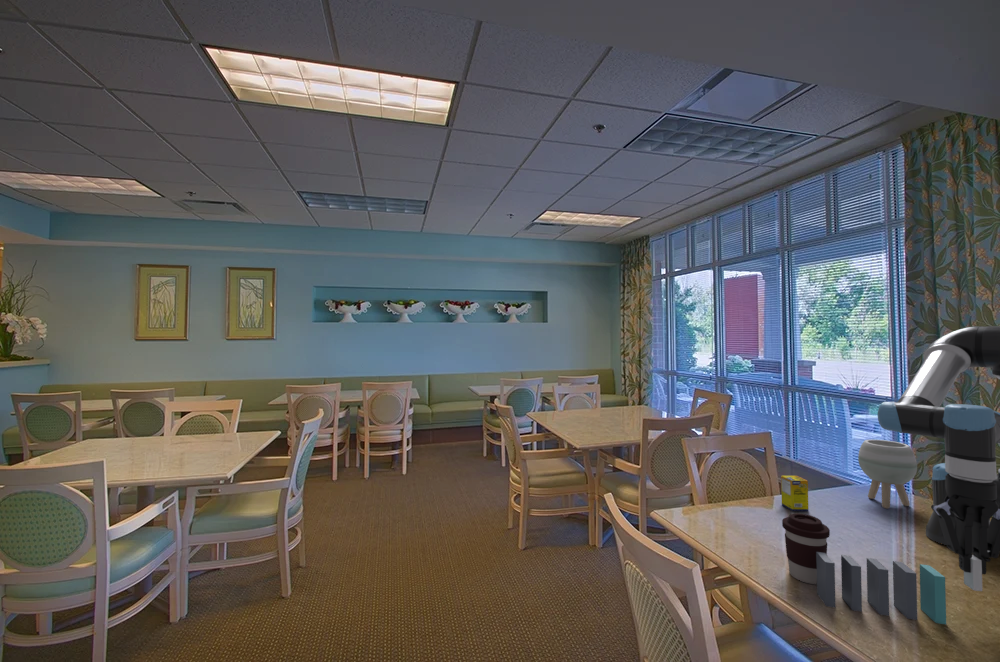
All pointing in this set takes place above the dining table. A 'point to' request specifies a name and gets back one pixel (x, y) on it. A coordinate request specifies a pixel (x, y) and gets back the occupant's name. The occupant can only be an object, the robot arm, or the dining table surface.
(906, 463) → the planter
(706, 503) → the dining table surface
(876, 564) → the domino
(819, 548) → the coffee cup
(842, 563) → the domino
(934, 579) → the domino
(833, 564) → the domino
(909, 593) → the domino
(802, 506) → the supplement box
